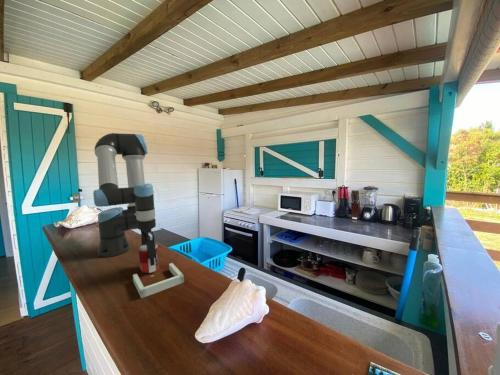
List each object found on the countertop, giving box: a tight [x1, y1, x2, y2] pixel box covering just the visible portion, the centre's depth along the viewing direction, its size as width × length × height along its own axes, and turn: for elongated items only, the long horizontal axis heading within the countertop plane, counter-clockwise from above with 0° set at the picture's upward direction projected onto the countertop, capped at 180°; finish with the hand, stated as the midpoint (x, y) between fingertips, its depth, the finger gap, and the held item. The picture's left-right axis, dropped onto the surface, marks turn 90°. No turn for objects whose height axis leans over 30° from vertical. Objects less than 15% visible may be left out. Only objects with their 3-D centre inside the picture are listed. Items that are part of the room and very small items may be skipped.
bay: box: [132, 262, 185, 299], centre depth 88 cm, size 14×16×3 cm
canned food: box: [138, 243, 160, 274], centre depth 98 cm, size 8×8×11 cm
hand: (149, 267), depth 99 cm, fingers closed on canned food, 8 cm apart
